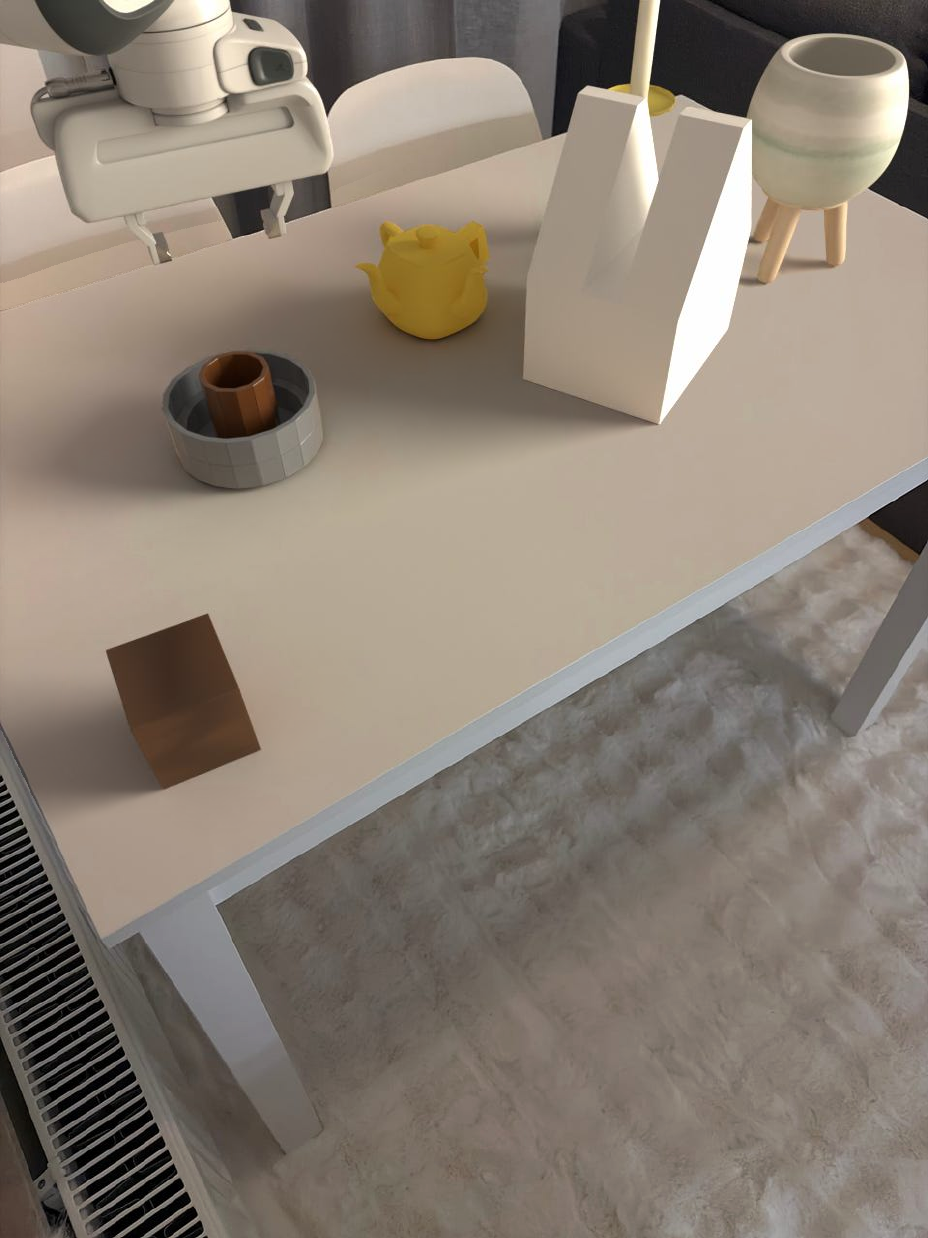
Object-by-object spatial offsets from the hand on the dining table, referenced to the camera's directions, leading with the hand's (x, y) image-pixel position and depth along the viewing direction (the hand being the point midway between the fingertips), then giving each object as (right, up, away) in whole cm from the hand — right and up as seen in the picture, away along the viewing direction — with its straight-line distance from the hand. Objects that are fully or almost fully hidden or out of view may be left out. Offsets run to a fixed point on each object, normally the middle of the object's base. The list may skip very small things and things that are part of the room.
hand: (219, 246), depth 74 cm
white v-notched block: (+38, -2, +25) cm, 45 cm away
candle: (+40, +19, +42) cm, 61 cm away
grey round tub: (-1, -13, +16) cm, 21 cm away
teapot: (+16, +4, +30) cm, 34 cm away
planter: (+59, +13, +36) cm, 70 cm away
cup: (-1, -12, +16) cm, 20 cm away
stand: (0, -39, -5) cm, 39 cm away
